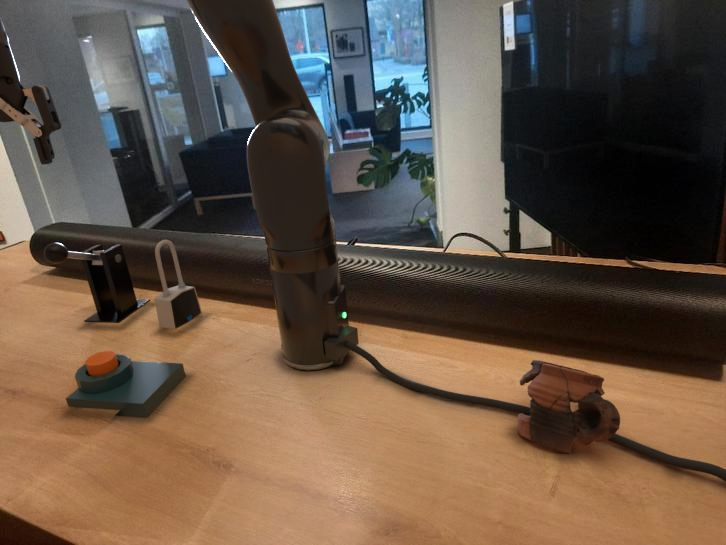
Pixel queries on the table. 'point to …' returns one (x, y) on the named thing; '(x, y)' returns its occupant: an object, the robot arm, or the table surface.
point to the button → (101, 363)
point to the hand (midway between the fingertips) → (16, 166)
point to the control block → (127, 387)
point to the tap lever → (69, 254)
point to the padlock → (175, 296)
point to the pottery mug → (566, 408)
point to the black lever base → (111, 286)
